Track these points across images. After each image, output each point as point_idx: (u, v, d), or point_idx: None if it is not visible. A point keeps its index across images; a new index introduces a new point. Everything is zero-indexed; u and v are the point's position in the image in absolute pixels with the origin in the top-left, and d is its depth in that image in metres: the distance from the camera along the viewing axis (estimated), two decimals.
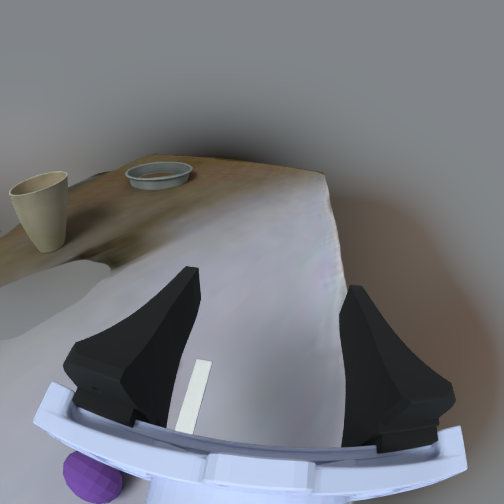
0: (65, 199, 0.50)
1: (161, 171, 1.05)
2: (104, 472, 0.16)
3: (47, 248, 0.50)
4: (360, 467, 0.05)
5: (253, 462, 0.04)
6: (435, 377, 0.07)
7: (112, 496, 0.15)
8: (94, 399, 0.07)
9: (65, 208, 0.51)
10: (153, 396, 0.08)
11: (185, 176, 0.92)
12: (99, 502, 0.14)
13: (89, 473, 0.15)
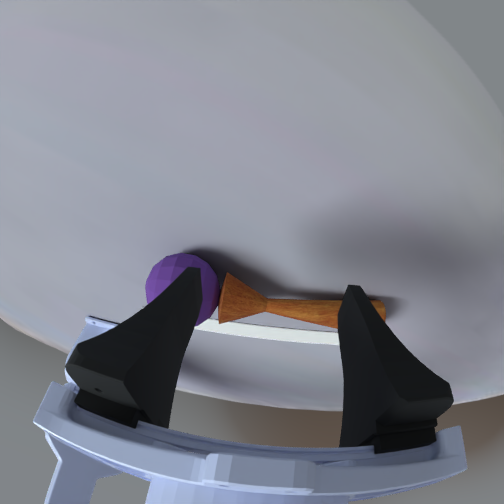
0: None
1: None
2: None
3: None
4: (360, 467, 0.05)
5: (253, 462, 0.04)
6: (433, 377, 0.07)
7: None
8: (96, 400, 0.07)
9: None
10: (155, 397, 0.08)
11: None
12: None
13: None
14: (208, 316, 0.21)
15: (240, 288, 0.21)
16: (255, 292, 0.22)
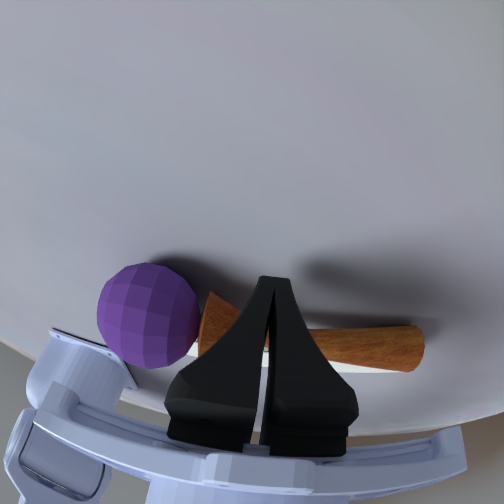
0: None
1: None
2: None
3: None
4: (360, 467, 0.05)
5: (253, 462, 0.04)
6: (335, 380, 0.07)
7: None
8: (195, 429, 0.07)
9: None
10: None
11: None
12: None
13: (135, 364, 0.13)
14: (183, 354, 0.14)
15: (229, 316, 0.14)
16: None
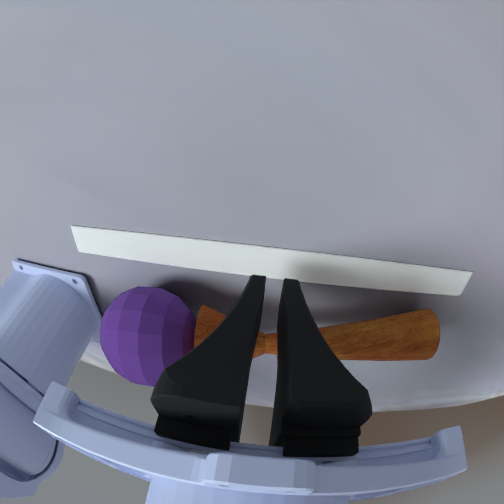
0: None
1: None
2: None
3: None
4: (360, 467, 0.05)
5: (253, 462, 0.04)
6: (348, 381, 0.07)
7: None
8: (182, 426, 0.07)
9: None
10: None
11: None
12: None
13: None
14: None
15: None
16: None
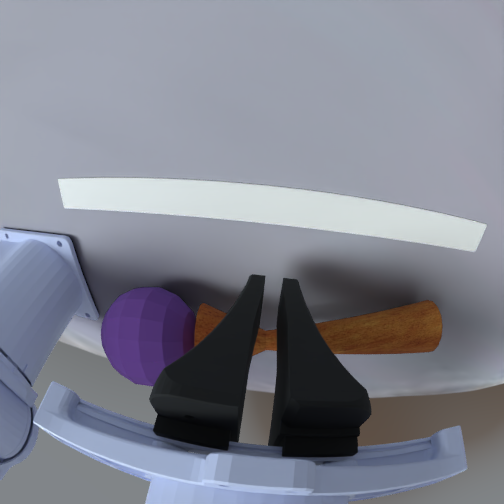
0: None
1: None
2: None
3: None
4: (360, 467, 0.05)
5: (253, 462, 0.04)
6: (347, 381, 0.07)
7: None
8: (181, 426, 0.07)
9: None
10: None
11: None
12: None
13: None
14: None
15: None
16: None
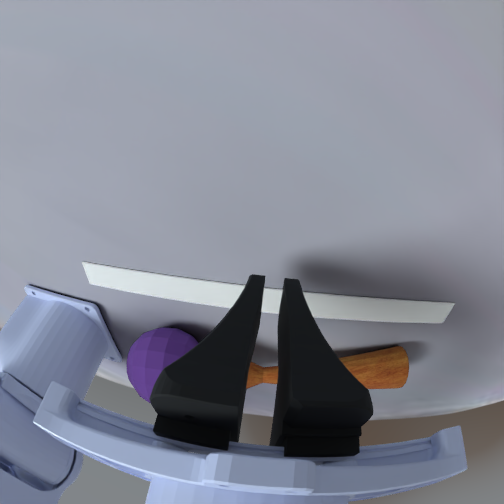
0: None
1: None
2: None
3: None
4: (360, 467, 0.05)
5: (253, 462, 0.04)
6: (349, 381, 0.07)
7: None
8: (181, 426, 0.07)
9: None
10: None
11: None
12: None
13: None
14: None
15: None
16: None
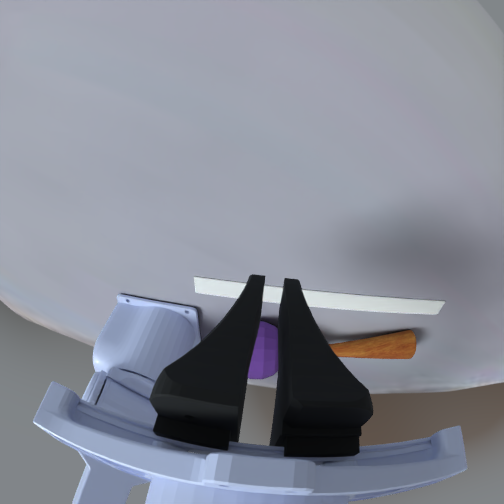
0: None
1: None
2: None
3: None
4: (360, 467, 0.05)
5: (253, 462, 0.04)
6: (349, 381, 0.07)
7: None
8: (181, 426, 0.07)
9: None
10: None
11: None
12: None
13: (255, 378, 0.25)
14: None
15: None
16: None
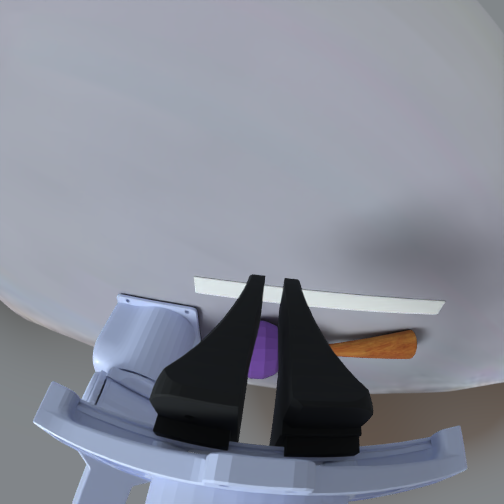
0: None
1: None
2: None
3: None
4: (360, 467, 0.05)
5: (253, 462, 0.04)
6: (349, 381, 0.07)
7: None
8: (181, 426, 0.07)
9: None
10: None
11: None
12: None
13: (256, 377, 0.25)
14: None
15: None
16: None
